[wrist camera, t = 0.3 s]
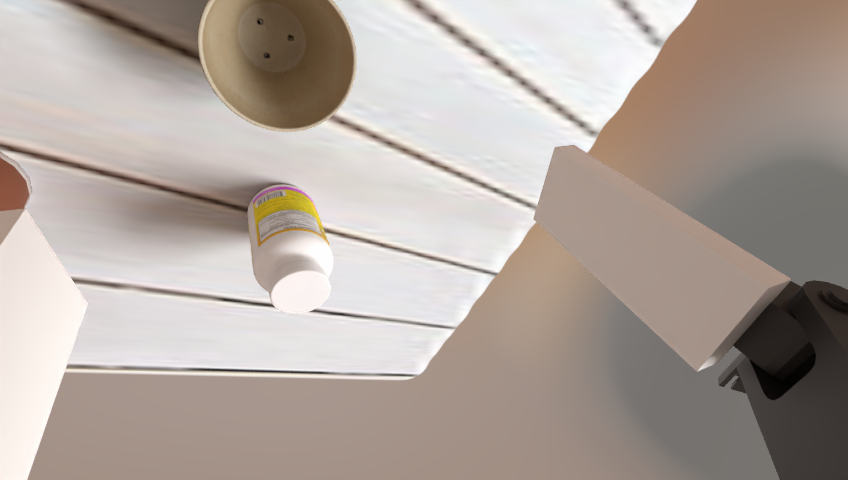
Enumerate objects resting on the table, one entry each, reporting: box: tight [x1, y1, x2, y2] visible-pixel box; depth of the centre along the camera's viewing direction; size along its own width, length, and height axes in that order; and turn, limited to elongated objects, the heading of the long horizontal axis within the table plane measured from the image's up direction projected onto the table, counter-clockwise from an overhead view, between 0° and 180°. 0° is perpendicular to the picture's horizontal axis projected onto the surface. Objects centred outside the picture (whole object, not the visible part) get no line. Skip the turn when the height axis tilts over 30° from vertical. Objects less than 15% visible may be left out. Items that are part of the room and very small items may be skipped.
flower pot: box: [197, 0, 356, 132], centre depth 28 cm, size 10×10×7 cm
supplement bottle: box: [247, 184, 333, 314], centre depth 36 cm, size 7×7×13 cm
